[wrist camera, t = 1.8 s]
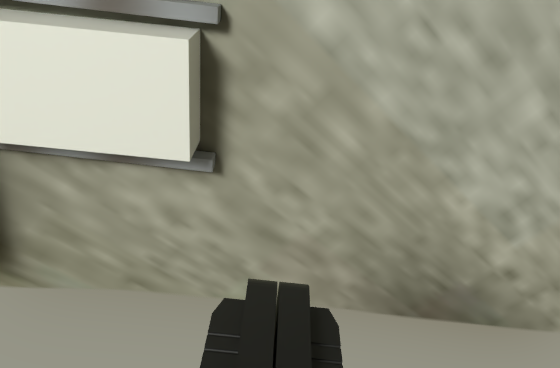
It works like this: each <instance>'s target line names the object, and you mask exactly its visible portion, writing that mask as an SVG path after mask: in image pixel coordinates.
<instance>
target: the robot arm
mask: <svg viewBox="0 0 560 368" xmlns="http://www.w3.org/2000/svg"><path fill="white" fill-rule="evenodd" d="M276 298H277V303H276ZM340 346H341V345H340V335H339V326H338V324H337V322H336V321H335V319H334V317H333V316H332V314H331V312H330V311H329V309H327V308H317V307H310V296H309V285H305V284H296V283H286V282H280V283H279V289H278V296H277V282H275V281H266V280H256V279H248V285H247V292H246V299H245V300H239V299H229V298H224V299H223V301H222V302H221V303H220V304H219V305H218V307H217V308H216V309H215V310H214V312H213V313H212V317H211V321H210V325H209V330H208V336H207V339H206V343H205V348H204V353H203V357H202V361H201V365H200V368H343V366H342V354H341V349H340Z"/></svg>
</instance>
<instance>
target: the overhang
mask: <svg viewBox="0 0 560 368" xmlns="http://www.w3.org/2000/svg"><path fill="white" fill-rule="evenodd" d="M14 1H23V2H32V3H40V4H49V5H57V6H66V7H74V8H83V9H92V10H100V11H109V12H117V13H126V14H134V15H143V16H152V17H160V18H169V19H177V20H186V21H194V22H203V23H212V24H218V23H219V22H220V20H221V4H215V3H206V2H198V1H189V0H14ZM0 149H7V150H16V151H25V152H34V153H43V154H52V155H61V156H70V157H79V158H88V159H97V160H106V161H115V162H124V163H133V164H142V165H151V166H160V167H169V168H178V169H187V170H196V171H205V172H213V169H214V166H215V155H216V153H213V152H204V151H195V152H194V154H193V156H192V158H191V160H190V162H188V161H178V160H168V159H158V158H148V157H138V156H128V155H118V154H107V153H97V152H87V151H77V150H67V149H57V148H47V147H37V146H26V145H16V144H6V143H0Z"/></svg>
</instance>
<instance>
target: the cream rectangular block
mask: <svg viewBox="0 0 560 368" xmlns="http://www.w3.org/2000/svg"><path fill="white" fill-rule="evenodd" d="M199 142H200V28H190V27H180V26H170V25H160V24H150V23H141V22H131V21H121V20H111V19H101V18H91V17H81V16H71V15H61V14H52V13H42V12H32V11H22V10H12V9H2V8H0V143H6V144H16V145H26V146H37V147H47V148H57V149H67V150H77V151H87V152H97V153H107V154H118V155H128V156H138V157H148V158H158V159H168V160H178V161H188V162H190V160H191V158H192V156H193V154H194V152H195V150H196V148H197V146H198V144H199Z"/></svg>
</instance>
